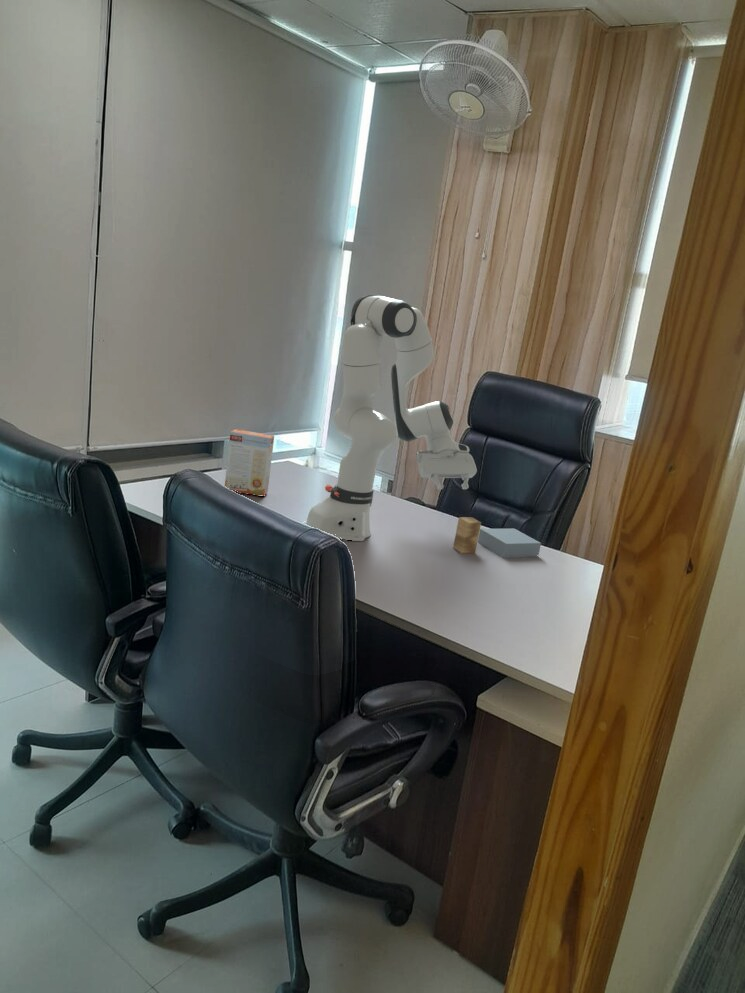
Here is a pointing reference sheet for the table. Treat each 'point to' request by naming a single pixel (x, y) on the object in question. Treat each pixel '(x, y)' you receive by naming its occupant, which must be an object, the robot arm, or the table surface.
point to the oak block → (467, 535)
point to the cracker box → (249, 462)
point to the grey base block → (509, 542)
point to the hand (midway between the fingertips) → (453, 488)
